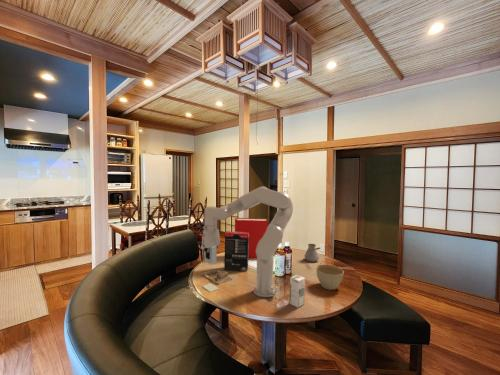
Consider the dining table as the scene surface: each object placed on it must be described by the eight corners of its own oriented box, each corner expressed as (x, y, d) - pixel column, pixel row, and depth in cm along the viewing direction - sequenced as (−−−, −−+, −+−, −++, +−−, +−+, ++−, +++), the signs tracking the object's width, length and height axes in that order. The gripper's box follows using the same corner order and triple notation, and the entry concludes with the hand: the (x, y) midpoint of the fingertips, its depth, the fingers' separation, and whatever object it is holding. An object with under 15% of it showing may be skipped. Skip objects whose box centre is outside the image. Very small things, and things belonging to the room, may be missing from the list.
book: (266, 255, 198) (267, 218, 197) (267, 258, 190) (267, 220, 189) (235, 254, 199) (235, 218, 198) (234, 258, 191) (234, 219, 190)
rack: (232, 279, 150) (232, 276, 150) (218, 284, 143) (218, 281, 143) (216, 271, 163) (216, 268, 163) (203, 275, 156) (203, 272, 156)
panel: (216, 263, 136) (216, 246, 136) (211, 264, 134) (212, 247, 134) (209, 259, 142) (209, 243, 142) (204, 260, 140) (204, 244, 140)
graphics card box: (248, 267, 171) (249, 231, 169) (247, 271, 164) (248, 233, 162) (225, 266, 172) (226, 230, 171) (223, 270, 165) (224, 232, 164)
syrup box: (295, 300, 126) (296, 274, 126) (304, 304, 122) (305, 277, 122) (289, 303, 123) (289, 276, 122) (298, 308, 118) (299, 280, 118)
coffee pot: (302, 258, 194) (302, 240, 193) (315, 257, 195) (315, 240, 195) (312, 267, 173) (313, 248, 172) (326, 267, 174) (327, 247, 174)
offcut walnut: (228, 276, 151) (228, 272, 151) (220, 279, 146) (220, 275, 146) (223, 274, 153) (223, 270, 153) (216, 277, 148) (216, 273, 148)
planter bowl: (325, 294, 133) (326, 275, 133) (310, 282, 149) (311, 265, 148) (349, 291, 138) (349, 273, 137) (332, 279, 153) (333, 263, 153)
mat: (218, 289, 137) (218, 288, 137) (210, 292, 133) (210, 291, 133) (210, 283, 144) (210, 283, 144) (201, 286, 140) (201, 286, 140)
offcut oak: (229, 280, 151) (229, 276, 151) (219, 283, 145) (219, 279, 145) (225, 277, 154) (225, 274, 154) (215, 281, 149) (215, 277, 149)
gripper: (202, 230, 129) (201, 262, 130) (225, 226, 140) (225, 256, 141) (195, 228, 134) (195, 259, 135) (218, 224, 146) (218, 253, 146)
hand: (210, 257), depth 138 cm, fingers closed on panel, 3 cm apart
